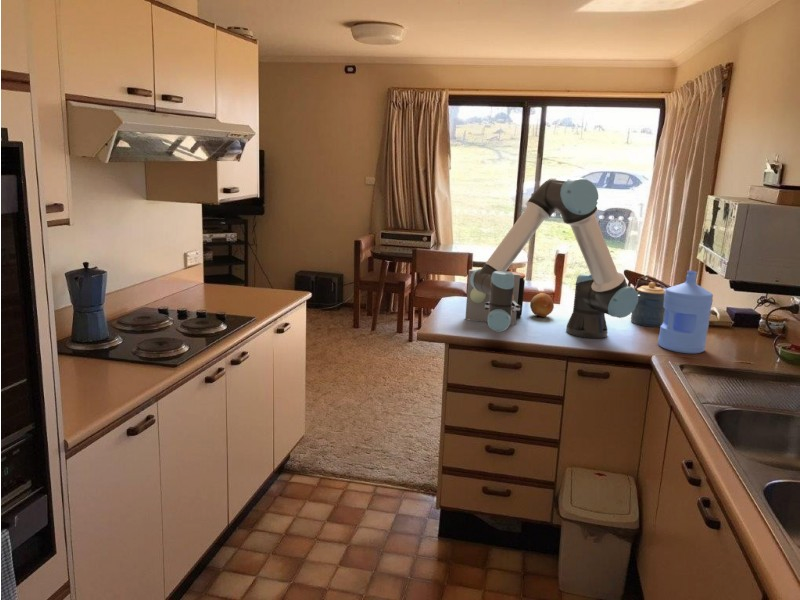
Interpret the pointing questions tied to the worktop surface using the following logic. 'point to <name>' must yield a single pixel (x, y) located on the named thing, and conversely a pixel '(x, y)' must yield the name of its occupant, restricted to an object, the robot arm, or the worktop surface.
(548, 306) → the onion
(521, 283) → the coffee jar
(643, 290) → the canister
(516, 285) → the panel
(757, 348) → the worktop surface
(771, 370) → the worktop surface
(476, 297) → the sage button
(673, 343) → the water jug
